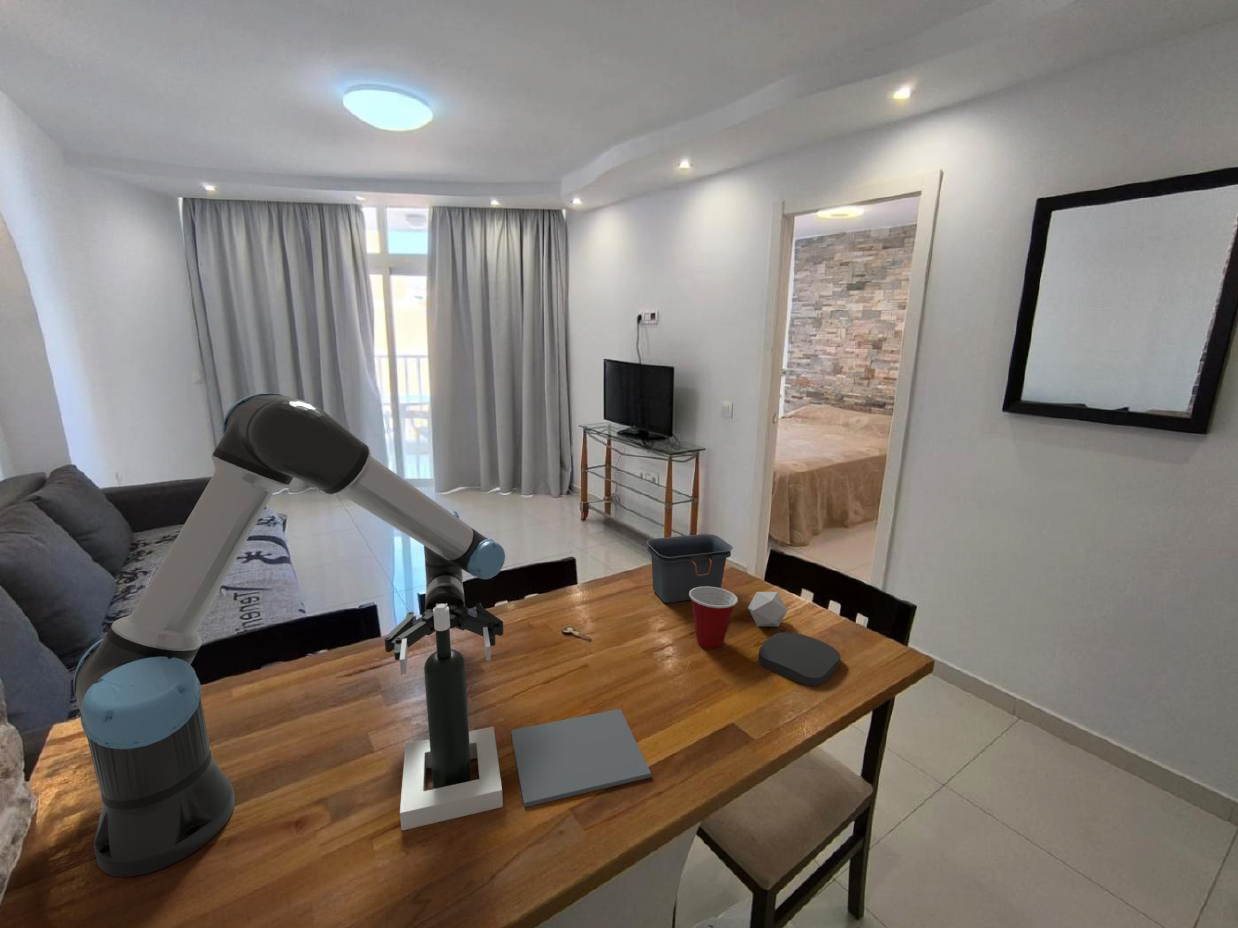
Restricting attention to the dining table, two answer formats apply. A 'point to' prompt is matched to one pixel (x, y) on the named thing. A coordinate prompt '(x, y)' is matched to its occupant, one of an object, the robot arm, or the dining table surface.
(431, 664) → the wine bottle
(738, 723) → the dining table surface
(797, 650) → the media streaming box
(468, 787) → the frame
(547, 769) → the coaster mat
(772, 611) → the die
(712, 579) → the storage bin
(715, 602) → the plastic cup
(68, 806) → the dining table surface
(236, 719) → the dining table surface
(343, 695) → the dining table surface
